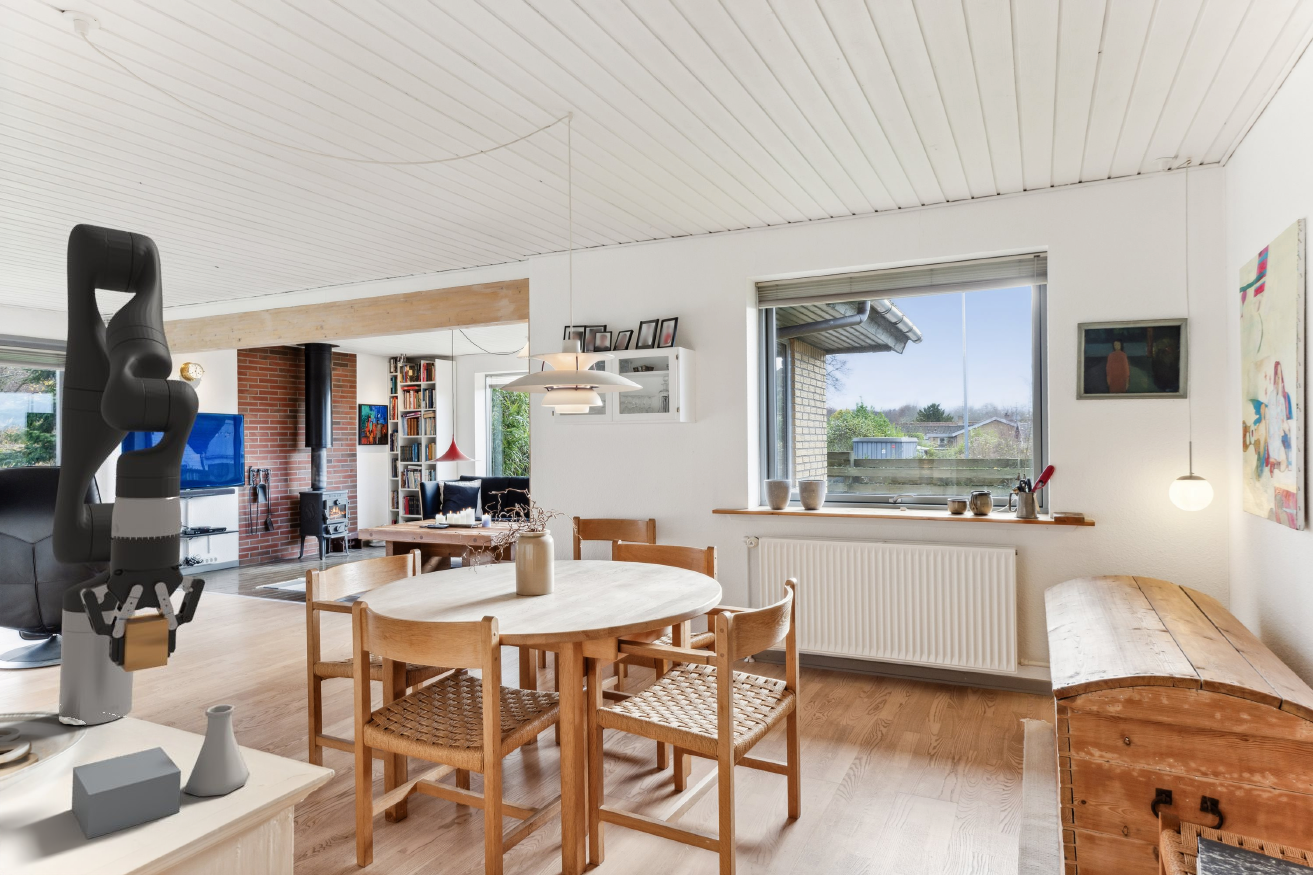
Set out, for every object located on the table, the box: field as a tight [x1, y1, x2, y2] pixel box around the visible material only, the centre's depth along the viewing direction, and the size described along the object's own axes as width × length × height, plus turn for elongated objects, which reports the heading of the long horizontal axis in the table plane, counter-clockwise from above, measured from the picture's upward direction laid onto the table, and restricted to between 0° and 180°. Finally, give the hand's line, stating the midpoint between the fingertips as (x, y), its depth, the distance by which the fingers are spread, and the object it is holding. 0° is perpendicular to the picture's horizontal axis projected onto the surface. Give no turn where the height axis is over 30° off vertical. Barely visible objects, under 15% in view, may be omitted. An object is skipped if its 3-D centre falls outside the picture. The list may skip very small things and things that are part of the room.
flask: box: [183, 703, 250, 797], centre depth 98 cm, size 7×7×10 cm
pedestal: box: [71, 746, 182, 840], centre depth 91 cm, size 9×9×5 cm
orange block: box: [121, 612, 169, 672], centre depth 99 cm, size 4×4×6 cm
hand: (142, 659), depth 99 cm, fingers closed on orange block, 4 cm apart
